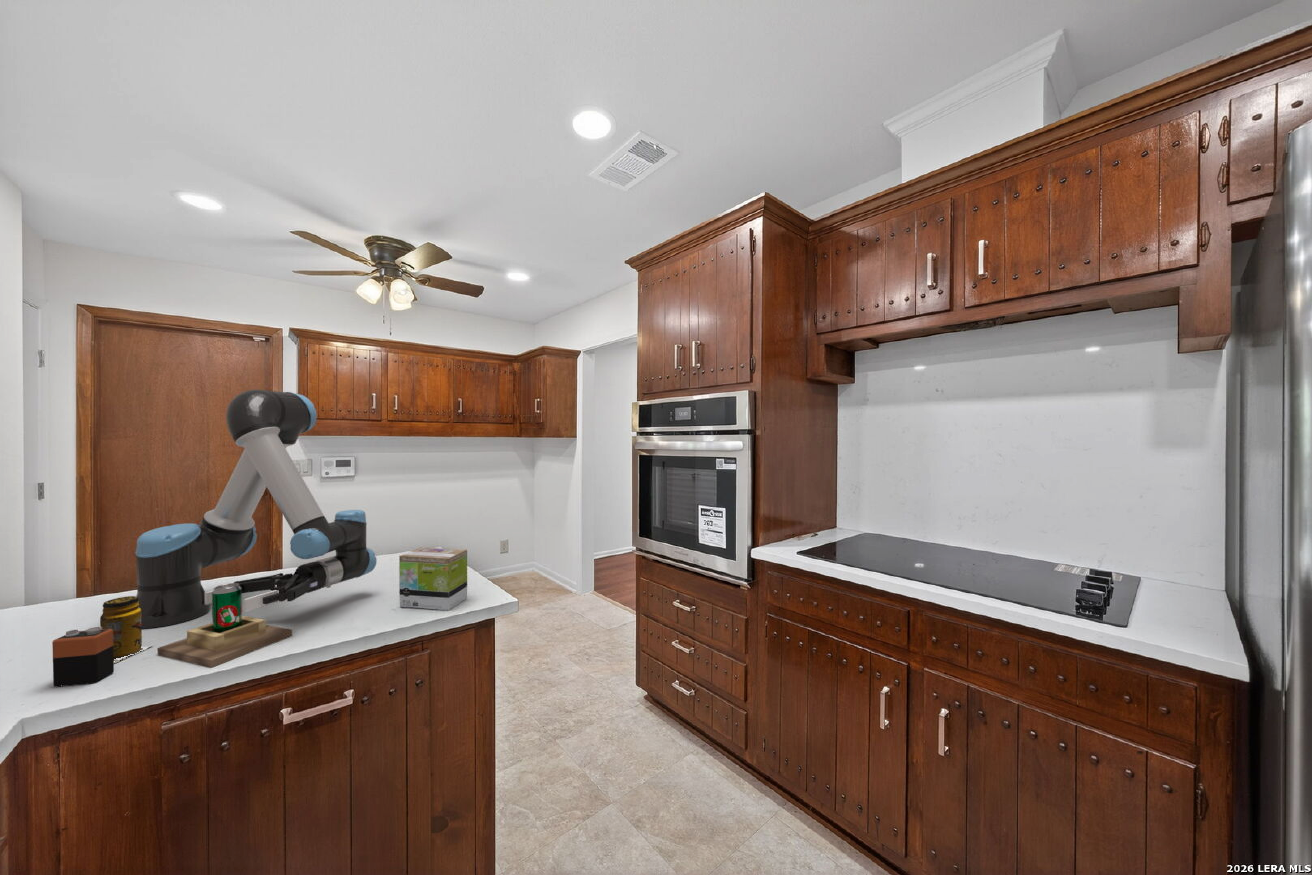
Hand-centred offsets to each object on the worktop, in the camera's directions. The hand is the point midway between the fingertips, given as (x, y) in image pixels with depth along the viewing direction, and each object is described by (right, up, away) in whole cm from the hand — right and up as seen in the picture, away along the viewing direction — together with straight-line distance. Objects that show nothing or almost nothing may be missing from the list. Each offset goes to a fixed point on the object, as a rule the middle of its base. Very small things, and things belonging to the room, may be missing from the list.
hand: (224, 602), depth 108 cm
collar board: (0, -10, +1) cm, 10 cm away
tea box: (+35, -10, +27) cm, 45 cm away
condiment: (-20, -10, -4) cm, 23 cm away
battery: (-15, -11, -14) cm, 23 cm away
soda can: (0, -9, +1) cm, 9 cm away
